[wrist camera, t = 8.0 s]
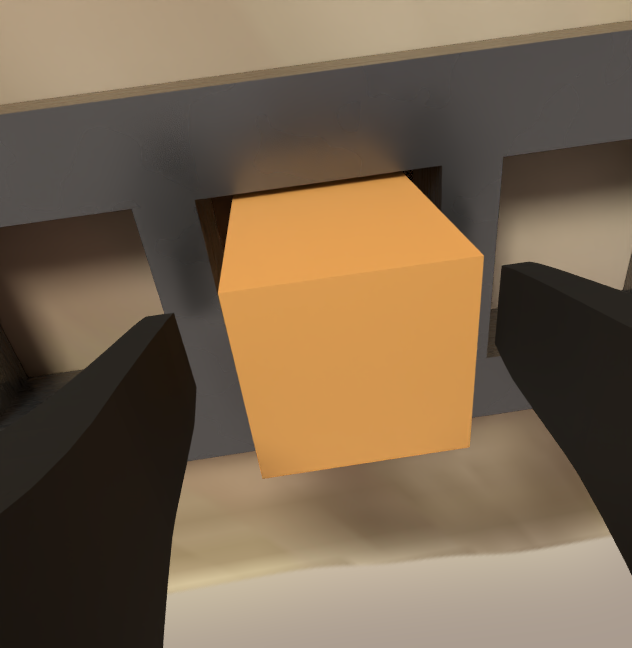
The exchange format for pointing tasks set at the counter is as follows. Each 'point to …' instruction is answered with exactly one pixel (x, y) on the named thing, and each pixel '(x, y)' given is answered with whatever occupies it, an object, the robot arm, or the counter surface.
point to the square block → (350, 322)
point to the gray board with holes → (304, 172)
